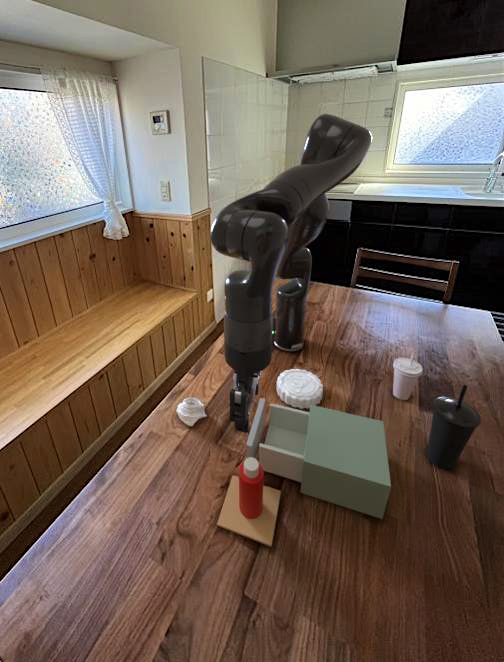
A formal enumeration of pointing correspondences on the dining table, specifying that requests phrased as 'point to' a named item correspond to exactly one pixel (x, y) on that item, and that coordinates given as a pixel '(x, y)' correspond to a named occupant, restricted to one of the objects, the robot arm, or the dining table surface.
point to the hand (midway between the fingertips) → (247, 410)
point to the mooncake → (299, 388)
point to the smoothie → (405, 376)
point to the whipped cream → (190, 411)
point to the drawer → (279, 440)
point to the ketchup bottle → (251, 488)
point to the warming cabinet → (346, 461)
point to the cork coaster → (250, 528)
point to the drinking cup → (451, 429)
